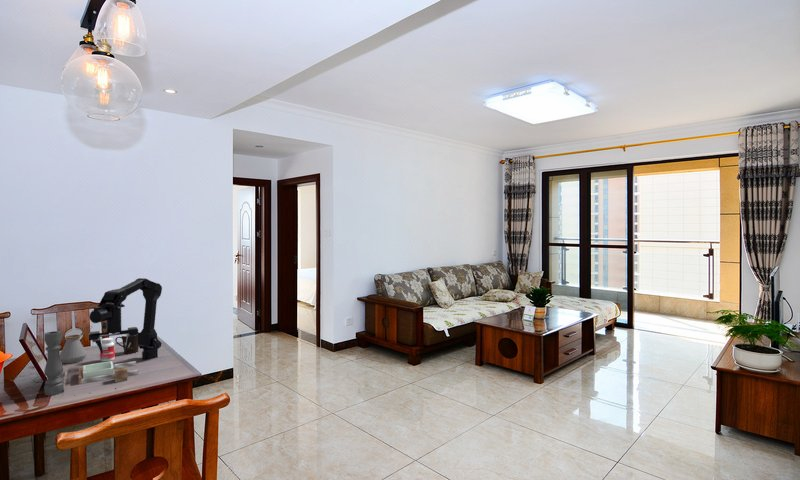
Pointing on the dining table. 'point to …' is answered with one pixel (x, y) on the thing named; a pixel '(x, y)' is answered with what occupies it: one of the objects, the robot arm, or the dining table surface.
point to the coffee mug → (132, 346)
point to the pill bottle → (107, 350)
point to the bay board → (110, 376)
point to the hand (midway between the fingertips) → (114, 352)
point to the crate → (98, 369)
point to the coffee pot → (73, 349)
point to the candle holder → (53, 364)
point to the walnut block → (121, 374)
